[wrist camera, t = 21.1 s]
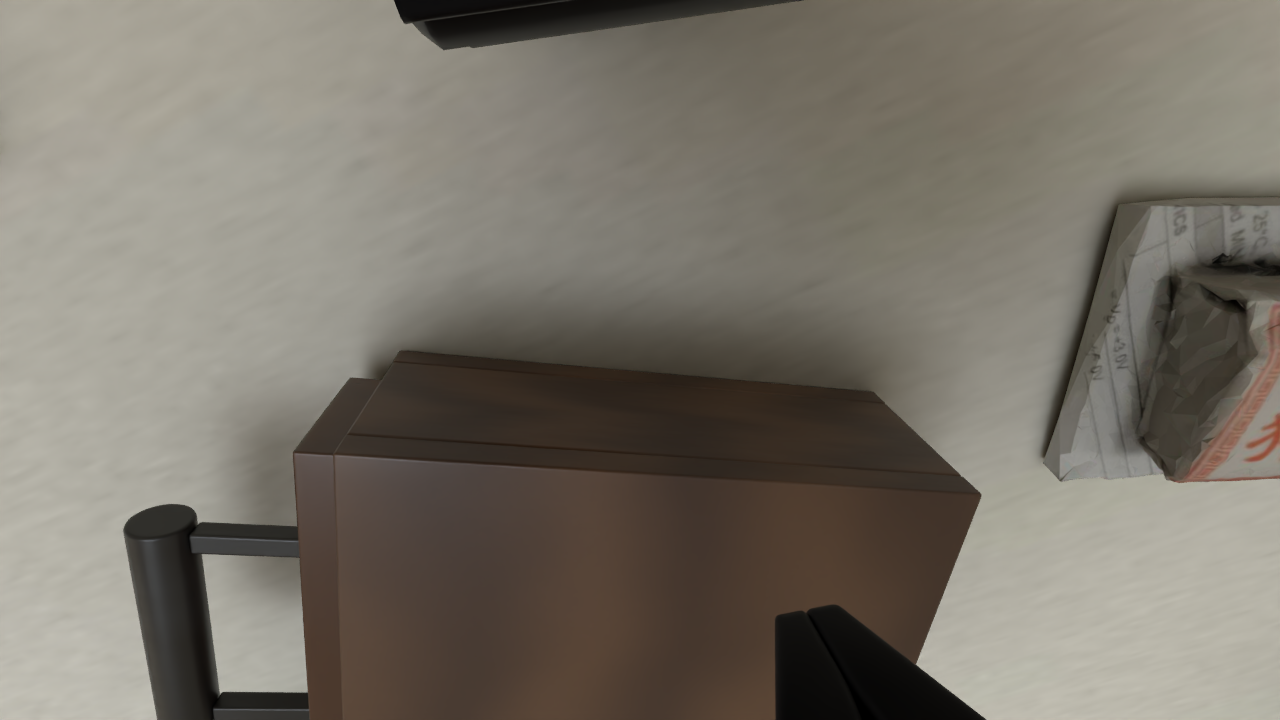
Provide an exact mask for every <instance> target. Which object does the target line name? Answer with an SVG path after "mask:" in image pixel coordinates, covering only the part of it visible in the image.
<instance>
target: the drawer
mask: <svg viewBox="0 0 1280 720" xmlns="http://www.w3.org/2000/svg"><path fill="white" fill-rule="evenodd" d="M380 382H381V380H375V379H362V378H349V380H348V381H347V382H346V384H345V385H344V386H343V388H342V389H341V390H340V391H339V393H338V394H337V395H336V397H335V398H334V399H333V401H332V402H331V403H330V404H329V406H328V407H327V408H326V410H325V411H324V412H323V414H322V415H321V416H320V417H319V419H318V420H317V421H316V423H315V424H314V425H313V427H312V428H311V429H310V431H309V432H308V433H307V434H306V436H305V437H304V438H303V440H302V441H301V442H300V444H299V445H298V446H297V447H296V449H295V450H294V451H293V463H294V479H295V495H296V511H297V526H298V527H296V526H275V525H253V524H231V523H209V522H201V523H199V524H198V522H197V515H196V513H195V511H194V510H193V509H192V508H190V507H188V506H185V505H180V504H167V505H160V506H155V507H152V508H149V509H146V510H143V511H141V512H139V513H137V514H135V515H134V516H133V517H131V518H130V519H129V520H128V521H127V522H126V524H125V526H124V529H123V532H124V538H125V543H126V549H127V554H128V560H129V565H130V571H131V576H132V582H133V588H134V593H135V599H136V604H137V610H138V615H139V621H140V626H141V632H142V637H143V643H144V649H145V654H146V660H147V665H148V671H149V676H150V682H151V687H152V693H153V698H154V704H155V709H156V715H157V720H343V713H342V686H341V659H340V632H339V605H338V578H337V551H336V524H335V497H334V470H333V454H334V452H335V450H336V449H337V447H338V446H339V444H340V443H341V441H342V440H343V438H344V436H346V434H347V432H348V431H349V429H350V428H351V426H352V425H353V423H354V422H355V420H356V419H357V417H358V416H359V414H360V412H361V411H362V409H363V408H364V406H365V405H366V403H367V402H368V400H369V399H370V397H371V396H372V394H373V392H374V391H375V389H376V388H377V386H378V385H379V383H380ZM202 554H219V555H245V556H271V557H296V558H300V574H301V590H302V606H303V622H304V638H305V654H306V670H307V686H308V693H284V692H222V693H221V695H220V692H219V684H218V676H217V668H216V661H215V653H214V645H213V638H212V630H211V622H210V614H209V607H208V599H207V591H206V584H205V576H204V568H203V560H202Z"/></svg>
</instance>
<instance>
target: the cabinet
mask: <svg viewBox="0 0 1280 720" xmlns="http://www.w3.org/2000/svg"><path fill="white" fill-rule="evenodd" d="M333 470H334V497H335V524H336V551H337V578H338V605H339V632H340V659H341V686H342V713H343V720H775V618H776V616H777V615H779V614H785V613H790V612H795V611H804V612H806V613H807V611H808V610H809V609H811V608H816V607H821V606H826V605H831V604H835V605H838V606H840V607H842V608H843V609H844V610H846V611H847V612H848V613H850V614H851V615H852V616H853V617H855V618H856V619H857V620H859V621H860V622H861V623H862V624H864V625H865V626H866V627H868V628H869V629H870V630H871V631H873V632H874V633H875V634H877V635H878V636H879V637H881V638H882V639H883V640H884V641H886V642H887V643H888V644H890V645H891V646H892V647H893V648H895V649H896V650H897V651H899V652H900V653H901V654H902V655H904V656H905V657H906V658H908V659H909V660H910V661H911V662H913V663H914V664H915V665H916V663H917V660H918V658H919V655H920V652H921V650H922V647H923V645H924V642H925V640H926V637H927V635H928V632H929V629H930V627H931V624H932V622H933V619H934V617H935V614H936V611H937V609H938V606H939V604H940V601H941V599H942V596H943V593H944V591H945V588H946V586H947V583H948V581H949V578H950V576H951V573H952V570H953V568H954V565H955V563H956V560H957V558H958V555H959V552H960V550H961V547H962V545H963V542H964V540H965V537H966V534H967V532H968V529H969V527H970V524H971V522H972V519H973V516H974V514H975V511H976V509H977V506H978V504H979V501H980V499H981V493H980V492H979V491H978V490H976V489H975V488H974V487H973V486H972V485H971V484H970V483H969V482H968V481H967V480H966V479H965V478H964V477H961V475H960V474H959V473H958V472H957V471H956V470H955V469H954V468H953V467H952V466H951V465H950V464H948V463H947V462H946V461H945V460H944V459H943V458H942V457H941V456H940V455H939V454H938V453H937V452H936V451H935V450H934V449H933V448H932V447H930V446H929V445H928V444H927V443H926V442H925V441H924V440H923V439H922V438H921V437H920V436H919V435H918V434H917V433H916V432H915V431H914V430H912V429H911V428H910V427H909V426H908V425H907V424H906V423H905V422H904V421H903V420H902V419H901V418H900V417H899V416H898V415H897V414H896V413H895V412H893V411H892V410H891V409H890V408H889V407H888V406H887V405H886V404H885V402H884V401H882V400H881V399H880V398H879V397H878V396H877V395H876V394H875V393H874V392H867V391H855V390H844V389H832V388H821V387H809V386H798V385H787V384H775V383H764V382H752V381H741V380H729V379H718V378H707V377H695V376H684V375H672V374H661V373H649V372H638V371H627V370H615V369H604V368H592V367H581V366H569V365H558V364H547V363H535V362H524V361H512V360H501V359H489V358H478V357H467V356H455V355H444V354H432V353H421V352H410V351H399V353H398V355H397V356H396V358H395V359H394V361H393V363H392V365H391V366H390V368H389V369H388V371H387V372H386V374H385V375H384V377H383V379H382V380H381V382H380V383H379V385H378V386H377V388H376V389H375V391H374V392H373V394H372V396H371V397H370V399H369V400H368V402H367V403H366V405H365V406H364V408H363V409H362V411H361V412H360V414H359V416H358V417H357V419H356V420H355V422H354V423H353V425H352V426H351V428H350V429H349V431H348V432H347V434H346V436H344V438H343V440H342V441H341V443H340V444H339V446H338V447H337V449H336V450H335V452H334V454H333Z"/></svg>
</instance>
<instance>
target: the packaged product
mask: <svg viewBox="0 0 1280 720" xmlns="http://www.w3.org/2000/svg"><path fill="white" fill-rule="evenodd" d="M1043 463H1044V464H1045V465H1046V466H1047V467H1048V469H1049V470H1050V471H1051V472H1052V473H1053V474H1054V475H1055V476H1056V477H1057V478H1058V479H1059V480H1060V481H1061V482H1062V481H1068V480H1073V479H1084V478H1103V479H1118V478H1128V477H1139V476H1146V475H1153V474H1164V476H1165V478H1166V480H1171V481H1174V482H1177V483H1185V482H1209V481H1239V480H1258V479H1277V478H1280V197H1249V198H1181V199H1170V200H1159V201H1148V202H1137V203H1126V204H1119V206H1118V210H1117V214H1116V217H1115V221H1114V225H1113V228H1112V232H1111V236H1110V239H1109V243H1108V247H1107V250H1106V254H1105V258H1104V261H1103V265H1102V269H1101V272H1100V276H1099V280H1098V283H1097V287H1096V291H1095V294H1094V298H1093V302H1092V305H1091V309H1090V313H1089V316H1088V319H1087V323H1086V326H1085V330H1084V333H1083V337H1082V340H1081V344H1080V347H1079V350H1078V354H1077V357H1076V361H1075V364H1074V368H1073V371H1072V375H1071V378H1070V382H1069V385H1068V388H1067V392H1066V395H1065V399H1064V402H1063V406H1062V409H1061V413H1060V416H1059V419H1058V422H1057V425H1056V428H1055V431H1054V433H1053V436H1052V439H1051V442H1050V445H1049V448H1048V450H1047V453H1046V456H1045V459H1044V462H1043Z"/></svg>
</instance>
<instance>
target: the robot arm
mask: <svg viewBox="0 0 1280 720" xmlns="http://www.w3.org/2000/svg"><path fill="white" fill-rule="evenodd" d="M394 1H395V4H396V7H397V9H398V12H399V14H400V17H401V19H402V21H403V22H404V23H405V24H408V23H413V24H414V26H415V27H416V28H417V29H418V30H419V31H420V32H421V33H422V34H423V35H424V36H426V37H427V38H428V39H430V40H431V41H432V42H434V43H435V44H436V45H438V46H439V47H440V48H441V49H443V50H448V49H454V48H461V47H468V46H469V47H471V48H477V47H484V46H490V45H497V44H504V43H511V42H518V41H525V40H532V39H539V38H546V37H553V36H560V35H567V34H574V33H580V32H587V31H594V30H601V29H608V28H615V27H622V26H629V25H636V24H643V23H650V22H657V21H664V20H671V19H677V18H684V17H691V16H698V15H705V14H712V13H719V12H726V11H733V10H740V9H747V8H754V7H761V6H768V5H774V4H781V3H788V2H795V1H802V0H394ZM775 720H986V719H985V718H983V717H982V716H981V715H980V714H978V713H977V712H976V711H974V710H973V709H972V708H971V707H969V706H968V705H967V704H965V703H964V702H963V701H962V700H960V699H959V698H958V697H956V696H955V695H954V694H953V693H951V692H950V691H949V690H947V689H946V688H945V687H944V686H942V685H941V684H940V683H938V682H937V681H936V680H935V679H933V678H932V677H931V676H929V675H928V674H927V673H926V672H924V671H923V670H922V669H920V668H919V667H918V666H917V665H915V664H914V663H913V662H911V661H910V660H909V659H908V658H906V657H905V656H904V655H902V654H901V653H900V652H899V651H897V650H896V649H895V648H893V647H892V646H891V645H890V644H888V643H887V642H886V641H884V640H883V639H882V638H881V637H879V636H878V635H877V634H875V633H874V632H873V631H871V630H870V629H869V628H868V627H866V626H865V625H864V624H862V623H861V622H860V621H859V620H857V619H856V618H855V617H853V616H852V615H851V614H850V613H848V612H847V611H846V610H844V609H843V608H842V607H840V606H838V605H835V604H831V605H826V606H821V607H816V608H811V609H809V610H808V611H807V613H806V612H804V611H795V612H790V613H785V614H779V615H777V616H776V618H775Z"/></svg>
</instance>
